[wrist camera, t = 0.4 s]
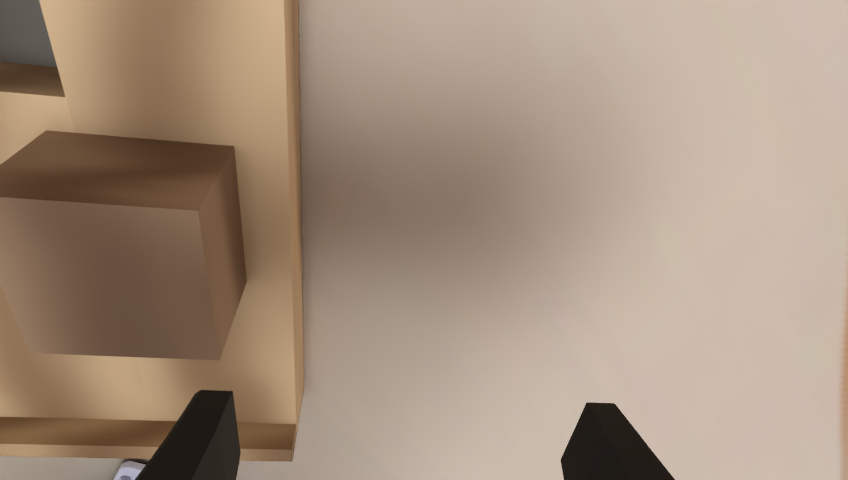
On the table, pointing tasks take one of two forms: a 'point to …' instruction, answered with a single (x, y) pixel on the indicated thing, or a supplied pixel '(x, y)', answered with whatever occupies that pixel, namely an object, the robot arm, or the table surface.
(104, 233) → the walnut block
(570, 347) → the table surface
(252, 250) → the wooden compartment tray
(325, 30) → the table surface
